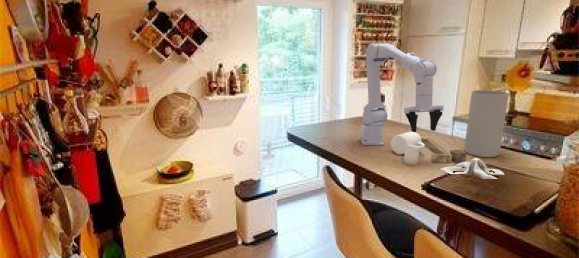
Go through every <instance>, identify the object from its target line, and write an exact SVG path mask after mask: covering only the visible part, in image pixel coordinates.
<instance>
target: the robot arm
mask: <svg viewBox="0 0 579 258" xmlns="http://www.w3.org/2000/svg"><path fill="white" fill-rule="evenodd" d="M365 57H366V60H365V61H366V76H367V99H368V100H367V101H368V103H367V104H365V106H363V112H362V113H363V114H362V120H363V121H364V123H361V124H360V139H359V141H360V142H361V144H362V145H363V146H384V145H385V143H384V141H383V128H384V126H383V125H384V124H385V122H386V121H387V119H388V112H387V109H386V108H387V107H386V105H385V104H384V103H383V102H382V97H381V96H382V94H381V93H382V92H381V91H382V90H381V75H380V74H381V72H380V71H381V70H380V66H381V65H382V64H383V63H385V62H386V61H387V60H389V59H390V58H392V59H394V60H396V61H398V62H400V65H401V66H402V67H403V68H404V69H406V70H408V71H410V72H411V73H412V75H413V77H414V82H415V106H410V107H409V106H407V107H403V113H404V114H405V116H406V118H407V121H408V123H409V126H410V129H411V131H412V132H416V133H417V130H418V129H417V125H418V118H419V114H416V113H426V112H428V114H429V115H428V116H429V120H430V121H429V123H430V124H429V125H430V127H429V128H430V131H433V132H434V131H436V130H437V126H438V123H439V121H440V119H441V117H442V116H443V112H444V105H441V104H440V105H439V104H437V105H434V104H433V93H434V92H433V84H434V81H433V80H434V76H435V75H436V74H437V69H438V68H437V64H436V63H434V62H433V60H427V61H426V60H425V58H422V57H419V56H417V55H416V53H414V52H408V53H405V52H404V51H402V50H400V49H399V48H397V47H396V46H395V44H392V43H390V42H387V43H384V42H383V43H375V42H372V43H369V45H368V46H367V47H366V49H365Z"/></svg>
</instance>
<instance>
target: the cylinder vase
mask: <svg viewBox="0 0 579 258" xmlns="http://www.w3.org/2000/svg"><path fill="white" fill-rule="evenodd" d="M509 96H510V94H509V92H506V91H503V90H501V91H500V90H493V89H492V90H488V89H477V90H476V89H475V90H471V96H470V103H469V109H468V110H469V111H468V118H467V127H466V133H465V138H464V139H465V140H464V147H463V149H464V152H466V153H467V154H469V155H472V156H475V157H479V158H480V157H481V158H495V157H498V156H499V155H500V152H501V145H502V140H503V132H504V127H505V120H506V115H507V108H508V102H509Z"/></svg>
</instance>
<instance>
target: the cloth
mask: <svg viewBox="0 0 579 258" xmlns="http://www.w3.org/2000/svg"><path fill="white" fill-rule="evenodd" d="M455 165H456V166H454V165H452V166H444V167H442V168H440V169H439V170H440V171H442V172H443V171H444V172H445V173H444V172H443V173H444V174H446V173H449V174H468V173H472V174H474V175H476V176H478V177H480V178H482V179H498V177H495V176H492V175H505V173H504V172H503V171H502V170H501V169H496V168H489V167H487V165H486V164H485V163H484V161H482V159H480V158H478V157H474V158H472V159H471V161H466V162H461V163H455ZM462 167H464V168H462ZM490 170H492V171H494V172H495V173H493V172H489V171H490ZM453 171H464V172H455V173H453Z"/></svg>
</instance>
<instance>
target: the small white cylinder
mask: <svg viewBox="0 0 579 258" xmlns="http://www.w3.org/2000/svg"><path fill="white" fill-rule="evenodd" d="M419 153H420V150H418V149H415V148H406V149H405V153H404V156H403V157H404V158H403V163H404V164H406V165H413V166H414V165H417V164H419V163H418V162H419Z"/></svg>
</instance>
